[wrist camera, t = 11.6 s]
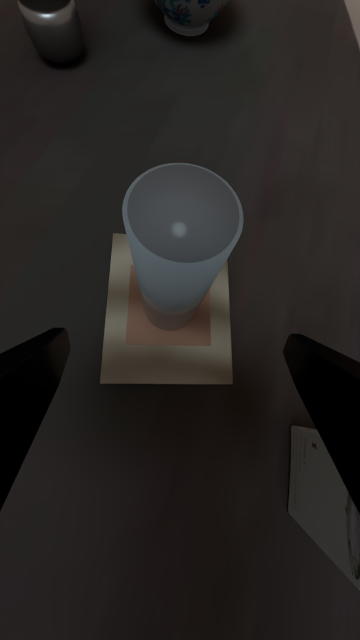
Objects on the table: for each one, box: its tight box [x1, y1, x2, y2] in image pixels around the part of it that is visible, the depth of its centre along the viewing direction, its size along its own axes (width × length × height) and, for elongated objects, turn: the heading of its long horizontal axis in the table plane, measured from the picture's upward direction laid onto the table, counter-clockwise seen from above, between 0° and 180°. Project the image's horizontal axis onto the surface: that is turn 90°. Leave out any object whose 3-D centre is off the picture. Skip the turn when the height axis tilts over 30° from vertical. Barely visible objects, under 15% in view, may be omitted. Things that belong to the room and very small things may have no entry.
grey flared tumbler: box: [122, 163, 243, 331], centre depth 15 cm, size 5×5×13 cm
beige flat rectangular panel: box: [100, 233, 233, 384], centre depth 22 cm, size 15×12×1 cm
